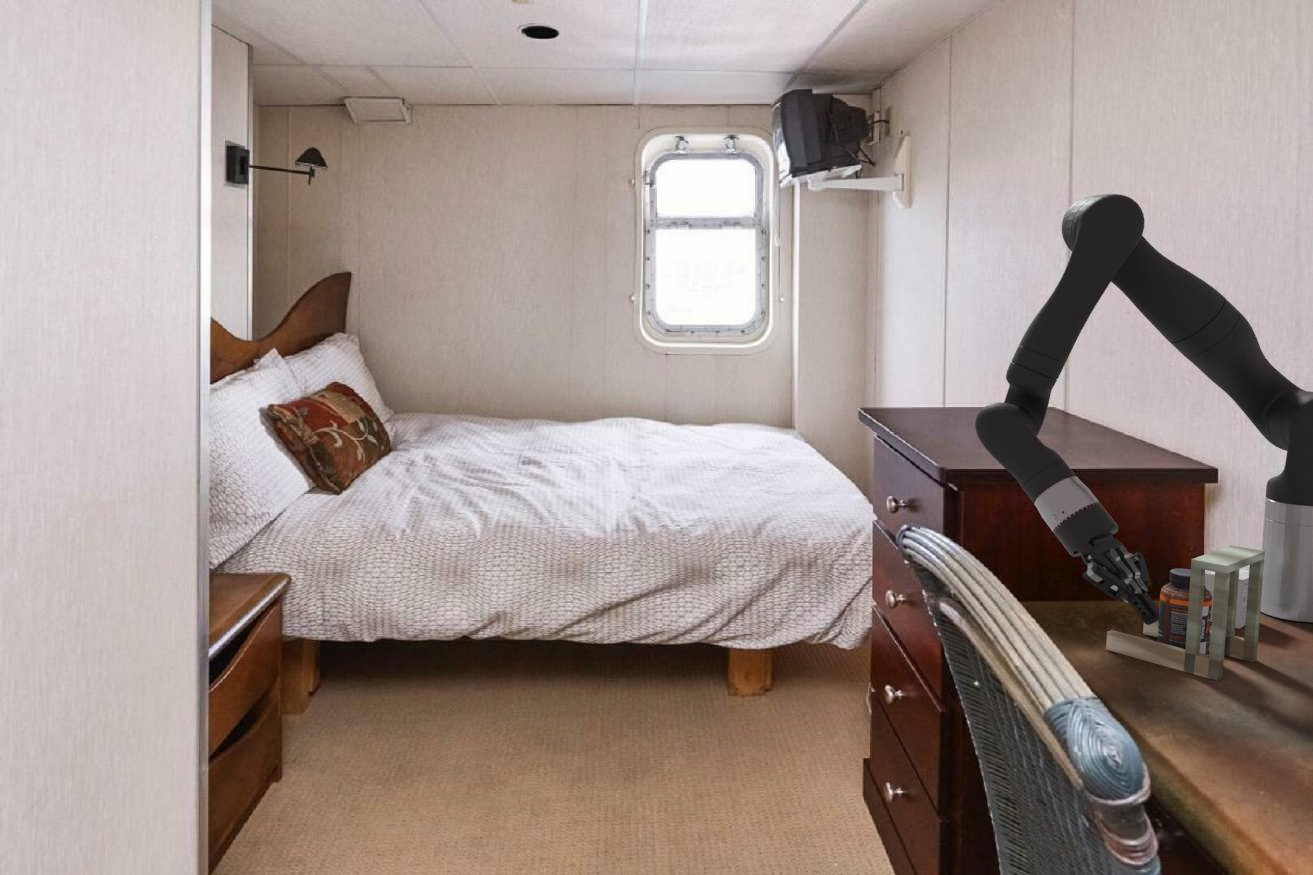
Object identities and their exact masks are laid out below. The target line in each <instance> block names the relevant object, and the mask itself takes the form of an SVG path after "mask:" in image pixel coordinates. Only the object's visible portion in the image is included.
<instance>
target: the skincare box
mask: <svg viewBox="0 0 1313 875" xmlns="http://www.w3.org/2000/svg"><path fill="white" fill-rule="evenodd" d="M1214 581H1215V572H1213V571H1208V570H1205V583H1204V585H1205V587H1206V589H1207V590H1209V592H1210V593H1211V594H1212V608H1211V622H1212V609H1213V595H1214ZM1248 581H1249V570H1245V569H1241V568H1240V569H1239V582H1238V595H1237V609H1236V623H1235V629H1242V628H1243V626H1244V625H1245V621H1246V607H1247V594H1248ZM1244 627H1245V626H1244Z"/></svg>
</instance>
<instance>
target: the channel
mask: <svg viewBox="0 0 1313 875" xmlns="http://www.w3.org/2000/svg"><path fill="white" fill-rule="evenodd" d="M1264 558H1265V551H1262V549H1260V550H1259V549H1254V548H1250V547H1249V548H1248V547H1242V546H1235V545H1228V546H1225V547H1223V548H1220V549H1217V550H1214V551H1211V552H1209V553H1206V554H1203V555H1200V556H1197V557H1195V558H1194V557H1193V558H1192V559H1191V560H1190V562H1191V563H1190V569H1191V573H1190V588H1189V603H1188V618H1187V633H1186V648H1185V649H1183V648H1179V647H1175V646H1171V645H1167V644H1164V643H1160V642H1157V640H1156V641H1155V640H1151V639H1148V638H1144V637H1141V636H1137V635H1133V634H1128V633H1126V632H1125V633H1124V632H1122V631H1117V630H1114V629H1111V630H1110V629H1109V630H1108V631H1107V632H1106V643H1105V644H1106V645H1105V646H1106V647H1105V650H1106V651H1108V652H1113V653H1116V654H1117V653H1118V654H1119V655H1123V656H1127V657H1131V658H1134V659H1137V660H1142V661H1145V662H1149V663H1153V664H1156V665H1159V666H1164V667H1165V668H1170V669H1174V670H1177V671H1181V672H1183V673H1184V672H1185V673H1187V674H1192V675H1194V676H1195V675H1196V676H1199V677H1202V678H1206V679H1209V680H1212V681H1216V682H1219V681H1221V680H1223V675H1224V674H1223V673H1224V662H1225V656H1227V657H1232V658H1234V659H1239V660H1242V661H1247V662H1250V663H1254V662H1255V661H1257V659H1258V646H1259V634H1260V621H1261V619H1260V618H1261V611H1260V610H1261V597H1262V584H1263V571H1264ZM1247 566H1249V570H1248V571H1249V581H1248V594H1247V607H1246V621H1245V626H1244V637H1240V636H1236V635H1235V634H1236V628H1235V623H1236V609H1237V595H1238V582H1239V569H1240V570H1241V569H1243V568H1244V567H1247ZM1205 570H1208V571H1213V572H1215V581H1214V595H1213V609H1212V623H1210V637H1209V651H1208V655H1205V654H1202V653H1200V641H1201V626H1202V612H1203V597H1204V582H1205ZM1158 621H1159V620H1158ZM1158 621H1157V622H1155V623H1153V624H1150V625H1147V624H1145V623H1144V622H1143V625H1142V626H1143V630H1142V634H1143V635H1146V636H1150V637H1154V638H1157V639H1158Z"/></svg>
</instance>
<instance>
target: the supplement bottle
mask: <svg viewBox="0 0 1313 875" xmlns="http://www.w3.org/2000/svg"><path fill="white" fill-rule="evenodd" d="M1190 573H1191V568H1190V569H1189V568H1172V569H1171V570H1170V571H1169V578H1168V579H1169V582H1168V583H1167V584H1165V585H1163V586H1162V587H1161V589H1160V594H1159V606H1158V608H1159V621H1158V638H1157V640H1156V642H1160V643H1164V644H1167V645H1171V646H1175V647H1179V648H1183V649H1185V648H1186V633H1187V618H1188V603H1189V588H1190ZM1204 583H1205V582H1204ZM1211 608H1212V594H1211V593H1210V592H1209V590H1207V589H1206V587H1205V585H1204V597H1203V612H1202V626H1201V641H1200V653H1202V654H1205V655H1209V652H1210V651H1209V637H1210V630H1211V623H1210V622H1211Z"/></svg>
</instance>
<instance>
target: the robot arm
mask: <svg viewBox="0 0 1313 875" xmlns="http://www.w3.org/2000/svg"><path fill="white" fill-rule="evenodd" d="M1144 229H1145V216H1144V212H1143V210H1142V208H1141V206H1140V204H1138V202H1137V201H1135V200H1134V199H1133V198H1131V197H1130V196H1127V195H1124V194H1117V193H1109V194H1108V193H1107V194H1106V193H1105V194H1098V195H1090V196H1087V197H1084V198H1082V199H1079V200H1078V201H1076V202H1074V203H1073V204H1071V206H1070V207H1068V209H1067V210H1066V211H1065V213H1064V216H1063V218H1062V221H1061V234H1062V235H1061V236H1062V238H1063V241H1064V244H1065V245H1066V247H1067V248H1068V250H1070V252H1071V254H1070V257H1069V261H1068V262H1067V265H1066V266H1065V270H1064V271H1063V274H1062V276H1061V278H1060V280H1059V282H1058V283H1057V285H1056V287H1055V288H1054V290H1053V292H1052V293H1051V294H1050V296H1049V297H1048V299H1047V300H1046V302H1045V303H1044V304H1043V306H1042V307H1041V308H1040V310H1039V311H1038V313H1037V314H1036V315H1035V316H1034V318H1033V320H1032V321H1031V322H1030V324H1029V326H1028V327H1027V329H1026V331H1025V333H1024V335H1023V336H1022V338H1021V340H1020V342H1019V344H1018V346H1017V348H1016V350H1015V353H1014V354H1013V357H1012V358H1011V361H1010V363H1009V365H1008V368H1007V370H1006V374H1005V378H1006V379H1005V380H1006V381H1007V383H1008V384H1009V386H1008V389H1007V392H1006V396H1005V398H1004V401H1003V402H1001V401H1000V402H993V403H989V404H987V405H985V406H984V407H982V409H980V410H979V412H978V413H977V415H976V419H975V423H974V428H975V431H976V432H975V433H976V435H977V437H978V439H979V441H980V443H981V444H982V446H983V447H984V448H985V449H986V451H988V453H989V454H990V455H991V456H992V457H993V458H994V460H996V461H997V462H998V464H1000V465H1001V466H1002V467H1003V468H1004V469H1005V470H1006V471H1007V472H1008V473H1009V474H1011V475H1012V476H1013V477H1014V478H1015V480H1016V481H1017V482H1018V484H1019V485H1020V487H1021V489H1022V490H1023V491H1024V493H1025V494H1026V495H1027V496H1028V497H1029V499H1030V500H1031V502H1032V503H1033V504H1034V506H1035V507H1036V509H1037V511H1038V513H1039V514H1040V516H1041V518H1042V519H1043V520H1044V522H1045V523H1046V525H1048V528H1050V530H1051V532H1053V534H1054V536H1055V537H1056V538H1057V539H1058V540H1059V542H1060V543H1061V544H1062V546H1063V547H1064V548H1065V550H1066V551H1067V552H1068V554H1069V555H1070V556H1071V557H1073V558H1075V557H1080V556H1081V558H1082V561H1083V563H1084V564H1085V565H1086V566H1087V571H1085V572H1084V573H1083V574H1082V578H1083V579H1084V580H1085V581H1087V582H1088V583H1089V584H1090V585H1092V586H1093V587H1095V588H1097V589H1098V590H1100V591H1101V592H1103V593H1104V594H1105V595H1107V596H1108V597H1110V598H1111V599H1113V600H1115V601H1116V602H1118V601H1120V600H1123V602H1124V603H1126V604H1127V603H1128V604H1130V606H1131V607H1132V609H1133V610H1134V611H1135V612H1136V613H1137V615H1138V616H1139V617H1140V619H1141V620H1142V621H1143V624H1144V623H1145V624H1147V625H1150V624H1153V623H1155V622H1157V621H1158V620H1159V606H1158V605H1157V604H1156V603H1155V601H1154V600H1153V599H1152V597H1151V595H1149V593H1148V591H1149V588H1150V586H1152V581H1151V576H1150V574H1149V570H1148V567H1147V563H1146V560H1145V557H1144V555H1143V554H1142V553H1141V552H1140V551H1136V553H1134V554H1133V553H1131V552H1129V551H1128V550H1127V548H1126V546H1125V545H1124V544H1122V542H1121V541H1119V540H1118V538H1116V533H1118V531H1119V525H1118V523H1117V522H1116V521H1115V520H1114V519H1113V517H1112V516H1111V515H1110V514H1109V513H1108V511H1107V510H1106V509H1105V507H1104V505H1102V504H1101V503H1100V501H1099V500H1098V498H1097V497H1096V496H1095V495H1094V493H1092V490H1090V489H1089V487H1088V486H1087V485H1086V484H1084V482H1082V480H1080V479H1079V477H1078V476H1077V475H1076V474H1075V472H1074V471H1073V470H1072V468H1071V467H1070V466H1069V465H1068V464H1067V462H1066V461H1065V460H1064V459H1063V457H1062V456H1061V455H1060V454H1058V453H1057V451H1055V450H1054V449H1052V448H1050V447H1049V446H1047V445H1045V444H1044V443H1043V442H1042V441H1041V440H1040V439H1039V437H1038V435H1039V434H1040V431H1041V429H1042V426H1043V424H1044V421H1045V417H1046V414H1047V410H1048V406H1049V404H1050V399H1051V393H1052V390H1053V388H1054V386H1055V385H1056V384H1057V382H1058V381H1057V380H1058V379H1059V378H1060V375H1061V373H1062V371H1063V369H1064V367H1065V366H1066V363H1067V361H1068V359H1069V357H1070V354H1071V352H1072V350H1073V349H1074V346H1075V344H1076V343H1077V340H1078V338H1079V337H1080V335H1081V332H1083V331H1082V330H1083V329H1084V327H1085V326H1086V323H1087V321H1088V320H1089V318H1090V316H1091V315H1092V313H1093V310H1094V309H1095V308H1096V306H1097V304H1098V303H1099V301H1100V300H1101V298H1102V296H1103V294H1104V293H1105V291H1106V290H1107V289H1108V287H1109V285H1110V284H1111V283H1112V284H1113V285H1114V286H1115V287H1116V288H1118V289H1119V290H1120V291H1121V292H1122V294H1124V295H1125V296H1126V297H1127V298H1128V299H1129V300H1130V302H1131V303H1132V304H1133V305H1134V306H1135V307H1136V309H1138V311H1139V312H1140V313H1141V314H1142V315H1143V316H1144V317H1145V318H1146V320H1147V321H1149V323H1150V324H1151V325H1152V326H1153V327H1154V328H1156V330H1157V331H1158V332H1159V333H1160V334H1161V335H1162V336H1163V337H1164V338H1165V339H1166V340H1167V341H1168V342H1169V343H1170V344H1171V345H1172V346H1173V347H1174V348H1175V349H1176V350H1177V351H1178V352H1179V353H1180V354H1182V355H1183V356H1184V357H1185V358H1186V359H1187V360H1188V361H1190V362H1191V364H1193V365H1194V366H1195V367H1196V368H1198V370H1199V371H1201V372H1202V373H1203V374H1204V375H1205V376H1206V377H1207V378H1208V379H1209V380H1211V381H1212V382H1213V383H1214V384H1215V385H1216V386H1217V387H1218V388H1219V389H1221V390H1222V391H1224V392H1225V393H1226V394H1227V395H1228V397H1230V398H1231V400H1233V402H1234V403H1235V404H1236V405H1237V407H1239V408H1240V409H1241V411H1242V412H1243V413H1244V415H1245V416H1246V417H1247V418H1248V419H1249V421H1250V422H1251V423H1252V424H1253V425H1254V427H1255V428H1256V429H1257V431H1258V432H1259V433H1260V434H1261V435H1262V436H1263V437H1264V438H1265V439H1266V441H1267V442H1268V443H1270V444H1271V445H1272V446H1274V447H1276V448H1278V449H1280V450H1283V451H1286V458H1285V464H1284V468H1283V470H1282V472H1281V473H1280V474H1278V475H1276V476H1273V477H1271V478H1269V479H1268V481H1267V483H1266V486H1265V488H1266V489H1265V502H1264V503H1265V504H1264V516H1263V530H1262V541H1261V551H1265V558H1264V571H1263V584H1262V597H1261V610H1260V613H1263V614H1265V615H1268V616H1271V617H1274V618H1278V619H1282V620H1288V621H1294V622H1300V623H1301V622H1303V623H1304V622H1305V623H1313V391H1309V390H1305V389H1302V388H1300V386H1297V385H1296V384H1295V383H1294V382H1292V381H1290V380H1289V379H1288V378H1287V377H1286V376H1284V375H1283V374H1282V373H1281V372H1280V371H1279V370H1278V369H1276V368H1275V367H1274V365H1272V364H1271V363H1270V362H1269V360H1268V359H1267V357H1266V356H1265V354H1264V353H1263V351H1262V348H1261V346H1260V343H1259V341H1258V338H1257V336H1256V333H1255V331H1254V329H1253V327H1252V326H1251V324H1250V322H1249V321H1248V319H1247V318H1246V317H1245V316H1244V315H1243V314H1242V313H1241V312H1240V311H1239V310H1238V309H1237V308H1236V307H1235V306H1234V305H1233V303H1231V302H1230V301H1229V300H1228V299H1227V298H1226V297H1225V296H1224V295H1223V294H1221V293H1220V292H1219V291H1218V290H1217V289H1216V288H1215V287H1213V286H1212V285H1211V284H1209V283H1207V282H1206V281H1204V280H1203V279H1202V278H1200V277H1199V276H1197V275H1195V274H1193V273H1192V272H1191V271H1189V270H1187V269H1186V268H1184V267H1182V266H1181V265H1179V264H1177V263H1175V262H1174V261H1172V260H1170V259H1169V258H1168V257H1166V256H1164V255H1163V254H1162V253H1160V252H1159V251H1158V250H1157V249H1156V248H1155V247H1154V246H1153V245H1152V244H1151V243H1150V242H1149V241H1148V240H1147V239H1146V238H1145V236H1144V235H1143V233H1144V231H1145V230H1144Z"/></svg>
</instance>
